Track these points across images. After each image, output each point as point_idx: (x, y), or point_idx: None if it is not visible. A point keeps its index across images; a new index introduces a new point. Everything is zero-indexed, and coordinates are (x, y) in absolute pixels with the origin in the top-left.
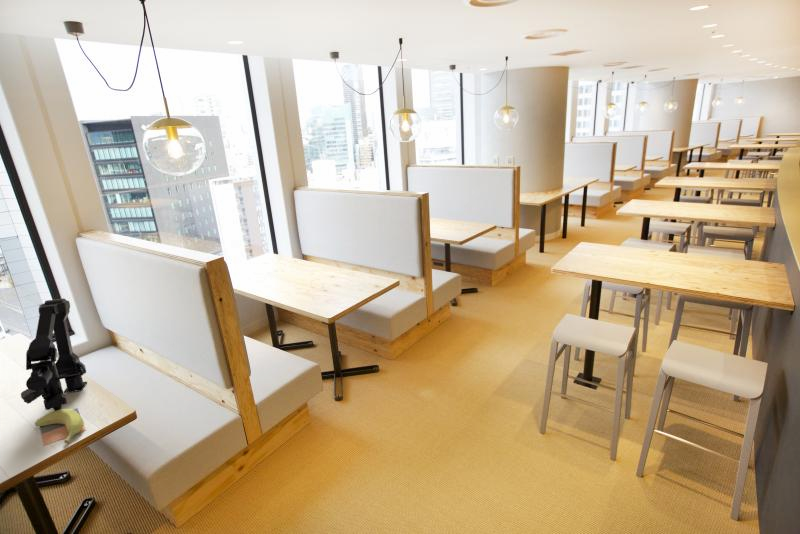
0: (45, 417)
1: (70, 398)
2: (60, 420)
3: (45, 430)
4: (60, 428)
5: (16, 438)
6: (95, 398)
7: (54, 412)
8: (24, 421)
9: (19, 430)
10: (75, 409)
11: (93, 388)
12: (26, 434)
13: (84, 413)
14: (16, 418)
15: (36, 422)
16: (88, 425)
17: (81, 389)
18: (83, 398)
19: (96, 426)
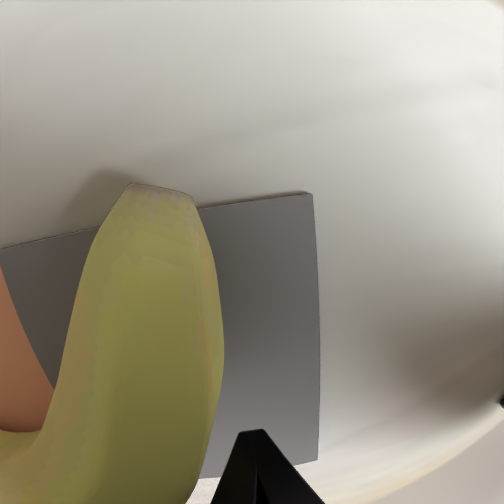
0: (85, 381)
1: (483, 377)
2: (16, 452)
3: (40, 284)
4: (36, 386)
5: (66, 19)
6: (362, 489)
7: (79, 500)
8: (412, 66)
9: (233, 9)
10: (306, 454)
11: (467, 444)
12: (76, 93)
13: (206, 486)
14: (482, 38)
15: (121, 215)
16: None
17: (502, 406)
18: (420, 443)
19: None
